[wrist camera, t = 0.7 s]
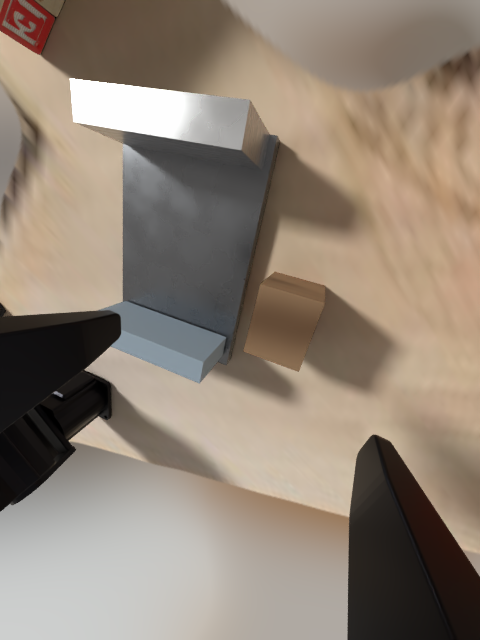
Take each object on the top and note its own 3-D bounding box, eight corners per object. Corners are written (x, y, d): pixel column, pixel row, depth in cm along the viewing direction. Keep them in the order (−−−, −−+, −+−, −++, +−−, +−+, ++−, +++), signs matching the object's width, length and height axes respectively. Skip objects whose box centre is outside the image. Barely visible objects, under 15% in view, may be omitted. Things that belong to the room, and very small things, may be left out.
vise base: (230, 360, 23) (204, 394, 18) (129, 321, 26) (84, 343, 21) (280, 141, 16) (260, 101, 11) (132, 118, 18) (63, 78, 14)
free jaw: (222, 355, 22) (199, 383, 18) (125, 318, 24) (86, 336, 20) (226, 337, 21) (203, 362, 17) (125, 300, 23) (84, 315, 19)
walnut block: (304, 340, 20) (298, 371, 16) (260, 326, 21) (243, 351, 17) (324, 285, 18) (325, 303, 14) (275, 271, 19) (260, 284, 15)
